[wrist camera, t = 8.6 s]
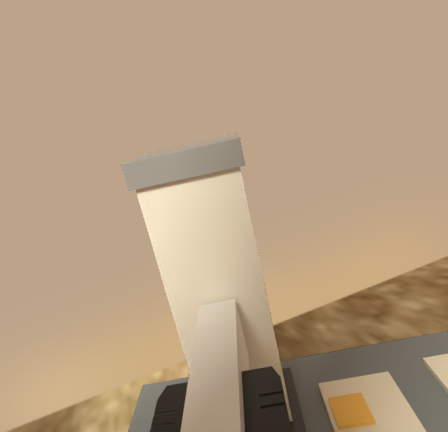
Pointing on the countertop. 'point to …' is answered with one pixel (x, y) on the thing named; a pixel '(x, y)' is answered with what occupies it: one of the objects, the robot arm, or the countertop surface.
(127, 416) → the countertop surface
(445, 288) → the countertop surface
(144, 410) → the console
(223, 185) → the slider
